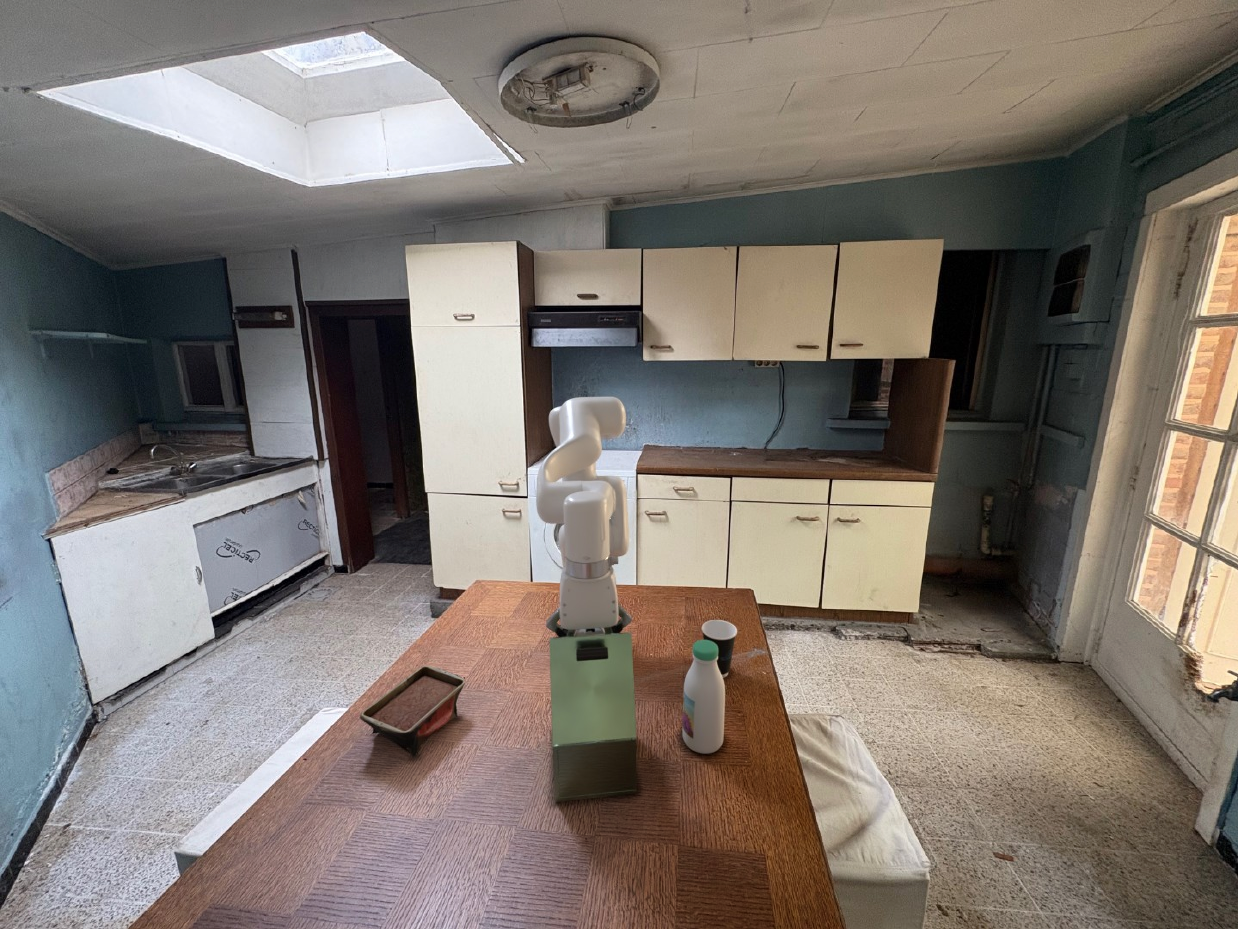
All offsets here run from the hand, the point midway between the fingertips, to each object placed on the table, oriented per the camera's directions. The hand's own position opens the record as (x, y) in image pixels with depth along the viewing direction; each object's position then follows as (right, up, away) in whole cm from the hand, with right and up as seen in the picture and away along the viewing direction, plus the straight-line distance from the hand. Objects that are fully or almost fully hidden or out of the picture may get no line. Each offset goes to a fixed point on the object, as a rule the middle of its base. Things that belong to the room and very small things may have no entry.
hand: (590, 658), depth 89 cm
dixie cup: (+28, -14, +27) cm, 41 cm away
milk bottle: (+21, -18, +7) cm, 29 cm away
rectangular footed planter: (-35, -18, +11) cm, 41 cm away
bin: (0, -19, +2) cm, 19 cm away
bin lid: (+1, -2, -7) cm, 7 cm away
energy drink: (0, -7, +2) cm, 7 cm away
